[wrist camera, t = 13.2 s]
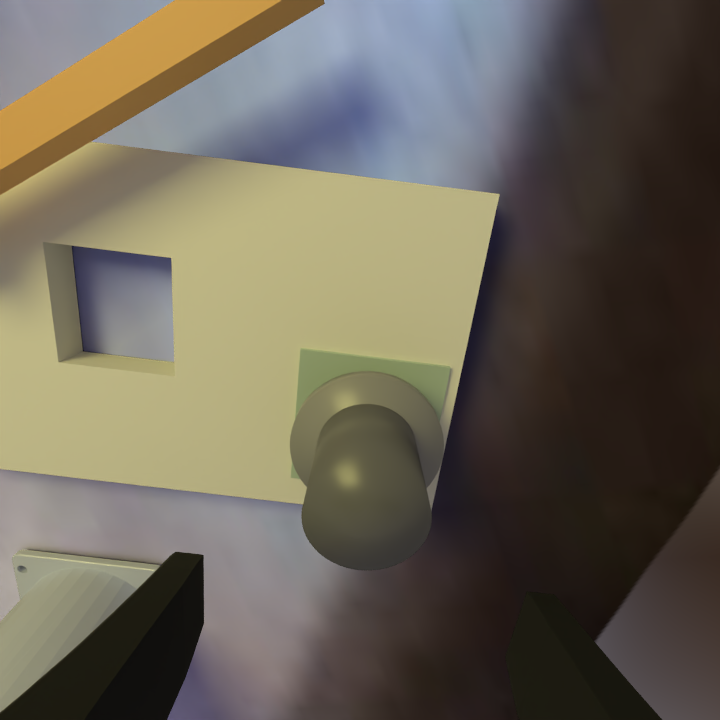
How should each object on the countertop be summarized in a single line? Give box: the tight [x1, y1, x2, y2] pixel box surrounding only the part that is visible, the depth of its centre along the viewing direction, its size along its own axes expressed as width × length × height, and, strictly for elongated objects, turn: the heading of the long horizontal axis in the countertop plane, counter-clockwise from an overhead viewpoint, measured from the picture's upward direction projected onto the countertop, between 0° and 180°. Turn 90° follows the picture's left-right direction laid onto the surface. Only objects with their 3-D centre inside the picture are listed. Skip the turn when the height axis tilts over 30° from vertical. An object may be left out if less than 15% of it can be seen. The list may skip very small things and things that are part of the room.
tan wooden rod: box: [0, 0, 325, 195], centre depth 12 cm, size 2×16×1 cm, turn 115°
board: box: [0, 142, 499, 510], centre depth 17 cm, size 14×22×2 cm, turn 83°
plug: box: [290, 371, 444, 570], centre depth 14 cm, size 6×6×6 cm
